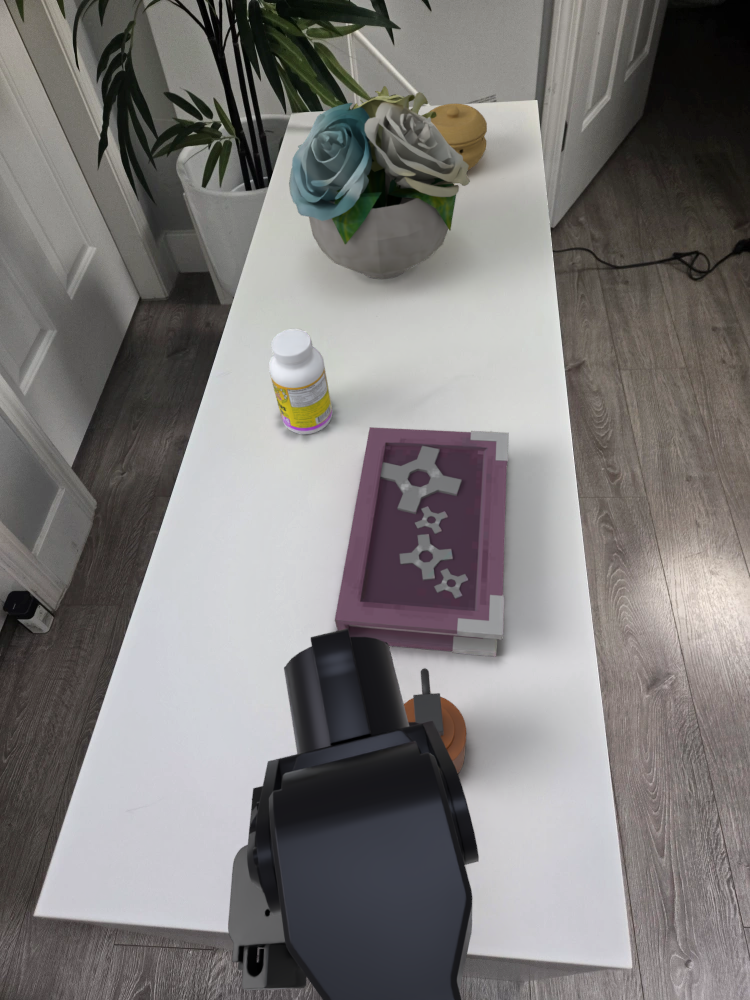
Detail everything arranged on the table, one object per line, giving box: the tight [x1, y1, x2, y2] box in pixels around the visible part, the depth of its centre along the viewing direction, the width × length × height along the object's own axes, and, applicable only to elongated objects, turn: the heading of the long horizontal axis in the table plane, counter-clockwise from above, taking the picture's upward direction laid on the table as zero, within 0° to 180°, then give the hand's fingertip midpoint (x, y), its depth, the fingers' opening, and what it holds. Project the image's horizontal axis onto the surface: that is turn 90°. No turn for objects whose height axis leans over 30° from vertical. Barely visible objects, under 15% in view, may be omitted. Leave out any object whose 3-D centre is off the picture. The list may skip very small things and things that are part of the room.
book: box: [334, 426, 510, 658], centre depth 77 cm, size 25×16×5 cm, turn 172°
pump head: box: [412, 667, 444, 736], centre depth 59 cm, size 6×2×2 cm, turn 2°
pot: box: [428, 103, 488, 171], centre depth 121 cm, size 12×12×10 cm
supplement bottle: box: [268, 328, 334, 435], centre depth 87 cm, size 7×7×13 cm
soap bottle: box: [403, 696, 467, 774], centre depth 63 cm, size 6×6×7 cm
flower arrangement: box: [288, 85, 471, 280], centre depth 100 cm, size 25×25×24 cm
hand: (397, 911), depth 47 cm, fingers closed
